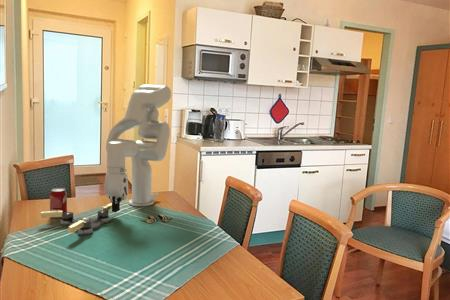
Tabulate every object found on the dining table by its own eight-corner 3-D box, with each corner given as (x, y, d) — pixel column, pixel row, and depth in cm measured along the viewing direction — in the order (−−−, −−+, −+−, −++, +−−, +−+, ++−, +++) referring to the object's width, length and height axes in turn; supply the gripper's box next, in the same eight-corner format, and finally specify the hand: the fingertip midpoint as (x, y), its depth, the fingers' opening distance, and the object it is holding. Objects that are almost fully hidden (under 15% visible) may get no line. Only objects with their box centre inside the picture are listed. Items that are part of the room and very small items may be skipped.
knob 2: (105, 219, 159) (105, 210, 159) (95, 218, 160) (95, 209, 159) (118, 210, 172) (118, 202, 171) (108, 209, 172) (108, 201, 172)
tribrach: (96, 215, 170) (96, 207, 170) (121, 226, 158) (121, 218, 157) (58, 223, 157) (58, 215, 157) (82, 236, 145) (82, 227, 144)
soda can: (60, 219, 163) (60, 192, 161) (46, 217, 164) (46, 190, 162) (70, 214, 169) (69, 188, 168) (56, 213, 171) (56, 187, 169)
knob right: (73, 217, 160) (73, 208, 159) (73, 220, 156) (73, 211, 155) (40, 219, 156) (39, 210, 155) (38, 222, 152) (38, 213, 151)
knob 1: (83, 225, 151) (83, 216, 150) (93, 226, 150) (93, 217, 149) (63, 236, 138) (63, 227, 138) (74, 237, 137) (74, 228, 137)
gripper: (135, 170, 165) (134, 211, 167) (108, 166, 171) (108, 206, 174) (123, 173, 158) (123, 216, 161) (96, 169, 164) (96, 210, 167)
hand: (115, 211), depth 167 cm, fingers closed
